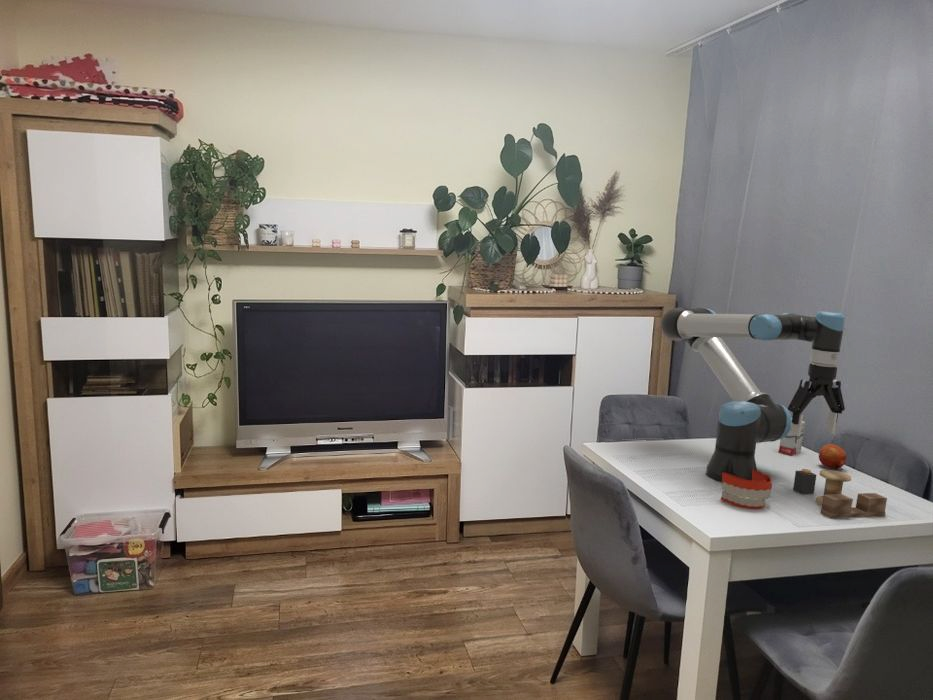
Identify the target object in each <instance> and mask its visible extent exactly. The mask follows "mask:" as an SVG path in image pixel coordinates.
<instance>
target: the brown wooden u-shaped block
mask: <svg viewBox="0 0 933 700" xmlns="http://www.w3.org/2000/svg"><path fill="white" fill-rule="evenodd" d="M822 496H823V502H822V505H821V508H820V511H819V513H820V514H821V515H824V516H826V517H828V518H829V519H846V518H847V519H850V518H852V519H853V518H868V517H869V518H871V517H873V518H874V516H876V517H886V507H887V502H888V498H887V497H886V496H883V495H881V494H879V493H877V492H872V493H871V492H868V493H867V492H866V493H857V497H856V503H855V507H853V501H854V500H853V498H851V497H849V496H846V495H844V494H842V493H841V494H829V495H824V494H823V495H822Z"/></svg>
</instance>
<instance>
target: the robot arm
mask: <svg viewBox="0 0 933 700" xmlns="http://www.w3.org/2000/svg"><path fill="white" fill-rule="evenodd" d="M845 319H846V318H845V316H844V314H842V313H839V312H831V311H818V312H817V313H816V316H809V315H808V316H807V315H801V314H796V313H791V312H790V313H786V312H783V313H781V314H770V313H762V314H759V313H758V314H756V313H755V314H754V313H753V314H751V313H717V312H715V311H714V310H712V309H711V308H710V309H709V308H705V307H699V306H698V307H673V308H670V309H669V310H667V311H666V312H665V313H664V314H663V315H662V318H661V319H660V329H661V330H660V331H661V332H662V333H663V335H664V337H666V338H667V339H669V340H671V341H675V342H686V343H687V344H688V346H689V347H690V349H691V350H692V351H693V352H696V353H699V354H700V355H701V356H702V358H703V360H704V361H705V362H706V364H707V365H708V366H709V368H710V370H712V372H713V373H714V375H715V376H716V378H717V379H718V381H719V382H720V384H721V385H722V386H723V389H725V392H727V394H728V395H729V397H730V398H731V399H732V401H729V402H725V403H723V404H722V405H721V406H720V408H719V414H718V417H717V419H718V421H717V429H716V437H715V444H714V445H715V446H714V452H713V453H712V455H711V458H710V460H709V462H708V464H707V466H706V471H705V474H706V475H707V476H708V477H709V478H711V479H713V480H716V481H717V482H718V481H719V482H721V483H723V482H722V472H725V473H728V474H731V475H734V476H736V477H739V478H742V479H746V480H752V470H756V471H758V468H757V463H756V458H755V457H756V456H755V455H756V448H757V447H756V446H757V444H761V443H767V442H768V443H769V442H770V443H771V442H772V443H773V442H777V441H778V440H779V441H780V440H781V439H782V438H784V437H785V436H786V435H787V434H788V433H789V431H790V429H791V423H793V424H792V430H791V434H794V435H797V436H800V433H801V427H802V421H803V419H804V414H803V411H805V409H806V408H807V406H808V405H809V404H810V403H811V402H812V400H813V399H814V398H816V397H820V396H821V397H822V396H823V398H824V401H825V402H826V404H827V406H828V407H829V411H827V417H826V423H825V429H824V432H825V433H827V434H830V435H835V432H836V425H837V422H838V417H839V414H841V415H842V413H843V412H844V411H845V410H846V407H845V402H844V398H843V394H842V389H841V388H842V387H841V386H842V382H841V380H837V379H836V378H837V371H838V367H837V366H838V365H839V359H840V351H841V346H842V340H843V334H844V331H845V328H844V327H845ZM722 338H723V339H724V338H725V339H744V340H745V339H747V340H749V339H750V340H759V341H776V340H777V341H782V340H783V341H784V340H797V341H804V342H809V343H812V344H811V350H810V356H809V361H810V364H809V365H808V371H807V375H808V377H809V380H804V379H800V380H799V385H798V388H797V390H796V391H795V393H794V395H793V397H792V399H791V401H790V403H789V405H788V406H787V407H786V406H784V405H782V404H780V403H776V402H775V401H774V400H773V399H772V397H771V396H770V394H768V393H767V392H761V390H760V389H759V388H758V386H757V385H756V384H755V383H754V380H752V379H751V377H750V375H748V373H747V372H746V370H745V369H744V367H743V366H742V364H741V363H740V362H739V360H738V359H737V358H736V356H735V355H734V353H733V352H732V351H731V349H730V348H729V347H728V345H727V344H726V342H725V341H724V340H723V339H722ZM790 412H792V415H791V413H790Z"/></svg>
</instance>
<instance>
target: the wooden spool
mask: <svg viewBox="0 0 933 700" xmlns="http://www.w3.org/2000/svg"><path fill="white" fill-rule="evenodd" d="M819 476H820V477H822V478H824V479H825V482H824V483H825V484H824V489H823V495H829V494H842V492H843V485H844V483H846V482H851V480H852V476H851V475H849V474H848V473H845V472H843V471H842V472H841V471H838V470H834V469H822V470H819ZM823 495H818V496H816V497H815V503H816V504H818V505H820V506H822V502H823Z"/></svg>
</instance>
